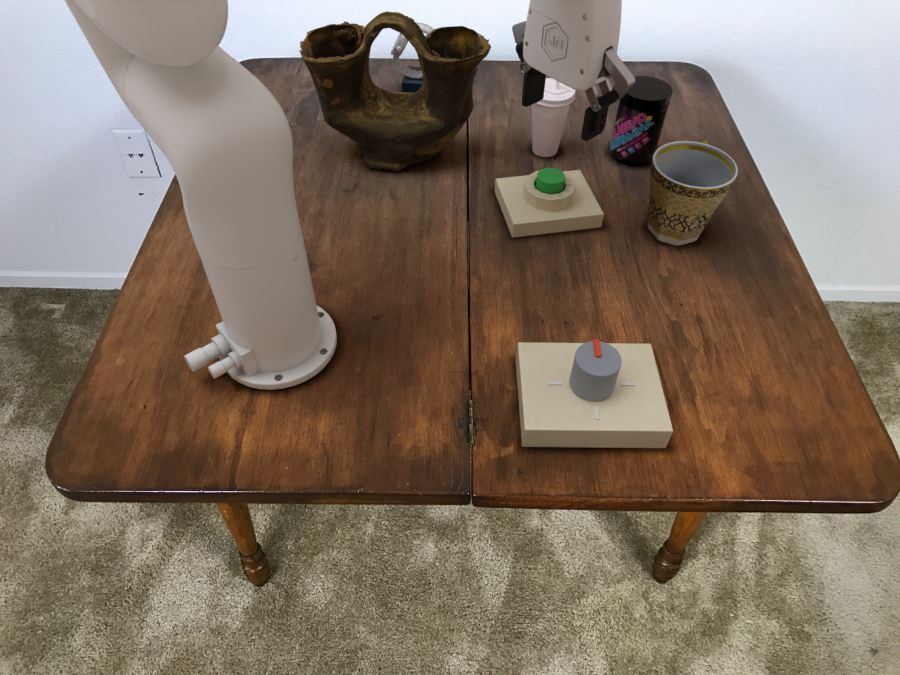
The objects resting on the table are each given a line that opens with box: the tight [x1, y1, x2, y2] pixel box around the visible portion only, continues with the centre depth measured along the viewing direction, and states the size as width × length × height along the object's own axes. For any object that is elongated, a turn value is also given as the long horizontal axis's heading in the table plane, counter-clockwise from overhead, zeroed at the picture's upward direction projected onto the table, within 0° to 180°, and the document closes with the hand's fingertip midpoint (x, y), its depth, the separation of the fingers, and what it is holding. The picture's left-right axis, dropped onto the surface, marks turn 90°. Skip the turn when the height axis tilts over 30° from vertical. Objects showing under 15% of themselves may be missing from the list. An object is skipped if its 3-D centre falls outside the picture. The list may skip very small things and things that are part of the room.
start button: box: [536, 167, 565, 194], centre depth 87 cm, size 4×4×2 cm
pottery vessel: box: [298, 10, 492, 172], centre depth 92 cm, size 25×11×20 cm, turn 86°
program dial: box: [569, 338, 622, 401], centre depth 66 cm, size 4×4×4 cm
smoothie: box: [530, 77, 576, 158], centre depth 95 cm, size 6×6×14 cm
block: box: [494, 169, 605, 238], centre depth 89 cm, size 12×10×4 cm
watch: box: [390, 22, 435, 93], centre depth 107 cm, size 6×8×11 cm
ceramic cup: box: [646, 138, 739, 247], centre depth 85 cm, size 13×10×10 cm
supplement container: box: [609, 75, 674, 167], centre depth 96 cm, size 7×7×10 cm
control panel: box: [515, 341, 674, 449], centre depth 68 cm, size 14×11×3 cm
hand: (561, 119), depth 80 cm, fingers open, 9 cm apart
